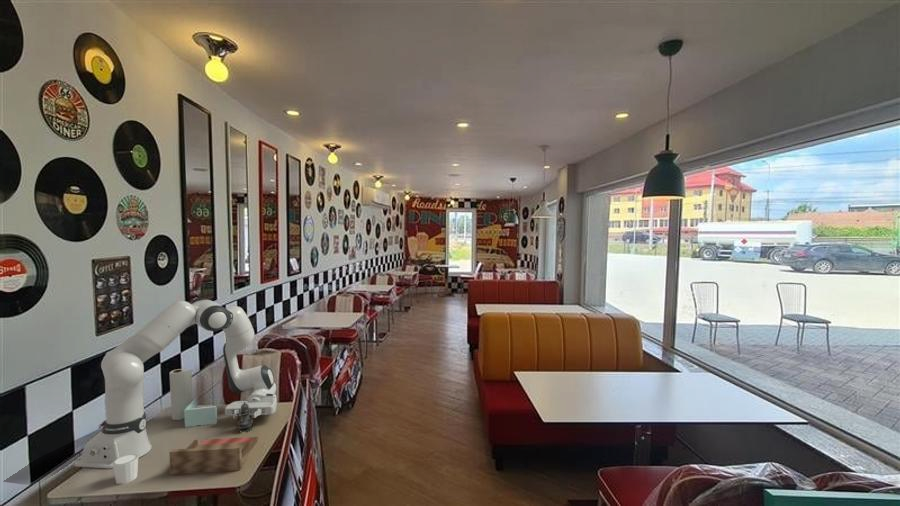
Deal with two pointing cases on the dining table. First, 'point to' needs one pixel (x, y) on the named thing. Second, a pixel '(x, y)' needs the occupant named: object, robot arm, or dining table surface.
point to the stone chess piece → (245, 419)
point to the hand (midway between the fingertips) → (244, 416)
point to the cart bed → (212, 455)
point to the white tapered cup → (125, 468)
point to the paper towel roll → (180, 392)
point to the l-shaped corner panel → (199, 414)
